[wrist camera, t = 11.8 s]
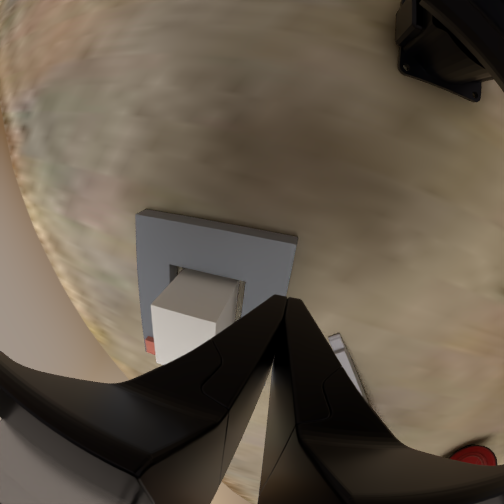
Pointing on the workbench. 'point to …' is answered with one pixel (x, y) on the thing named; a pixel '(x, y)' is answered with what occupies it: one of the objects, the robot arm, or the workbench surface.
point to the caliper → (346, 361)
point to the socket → (208, 258)
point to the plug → (191, 312)
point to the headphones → (475, 455)
